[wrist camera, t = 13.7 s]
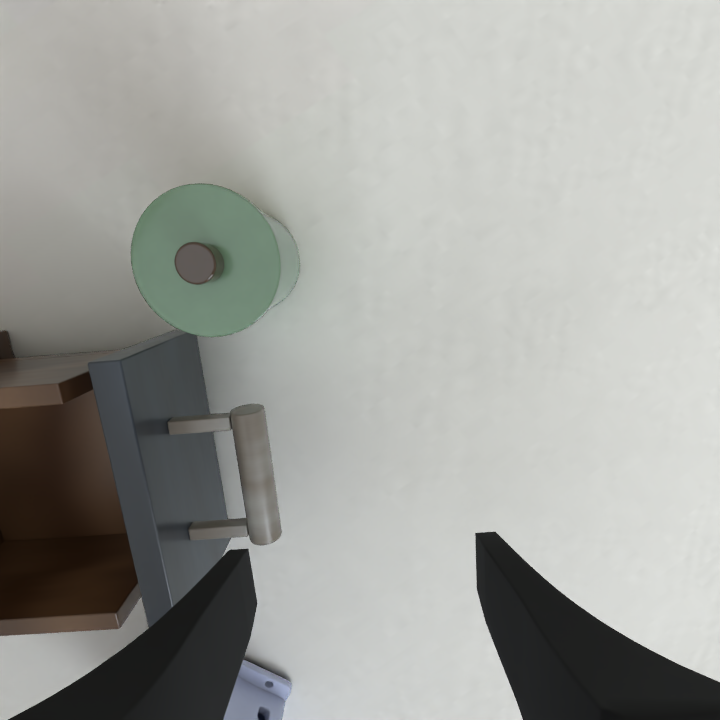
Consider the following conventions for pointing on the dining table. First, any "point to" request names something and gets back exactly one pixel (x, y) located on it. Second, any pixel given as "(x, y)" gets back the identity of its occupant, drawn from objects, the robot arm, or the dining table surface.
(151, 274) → the pot
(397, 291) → the dining table surface
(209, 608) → the robot arm
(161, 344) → the drawer
